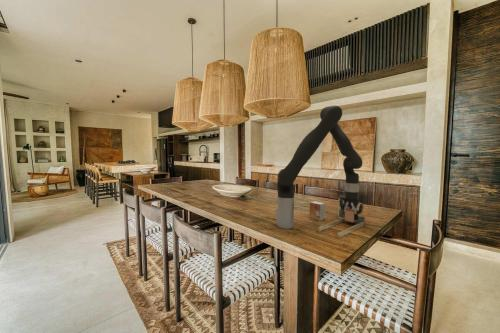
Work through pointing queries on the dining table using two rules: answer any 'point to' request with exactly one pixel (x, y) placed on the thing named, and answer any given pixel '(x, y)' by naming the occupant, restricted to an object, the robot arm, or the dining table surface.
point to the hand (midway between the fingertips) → (350, 218)
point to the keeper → (349, 215)
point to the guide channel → (359, 223)
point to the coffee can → (340, 212)
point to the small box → (317, 210)
